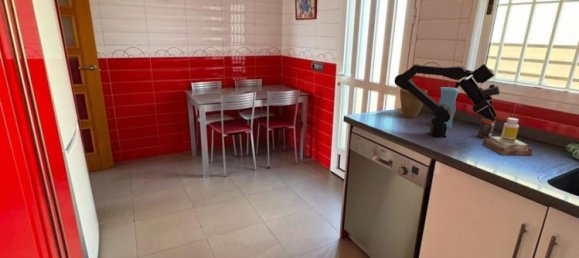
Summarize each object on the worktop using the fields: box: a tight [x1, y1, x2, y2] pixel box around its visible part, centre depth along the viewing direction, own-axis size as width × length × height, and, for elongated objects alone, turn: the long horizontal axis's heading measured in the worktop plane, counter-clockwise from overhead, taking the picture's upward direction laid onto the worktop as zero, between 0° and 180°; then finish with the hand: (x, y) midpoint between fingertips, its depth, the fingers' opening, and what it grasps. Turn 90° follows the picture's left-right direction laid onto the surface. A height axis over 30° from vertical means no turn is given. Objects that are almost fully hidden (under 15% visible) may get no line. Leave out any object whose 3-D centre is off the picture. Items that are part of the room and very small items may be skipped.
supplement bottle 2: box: [500, 117, 520, 142], centre depth 137 cm, size 5×5×10 cm
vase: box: [437, 86, 460, 129], centre depth 169 cm, size 8×8×20 cm
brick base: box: [482, 136, 533, 156], centre depth 139 cm, size 13×13×4 cm
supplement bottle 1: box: [477, 116, 496, 139], centre depth 154 cm, size 6×6×11 cm
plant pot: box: [399, 87, 428, 119], centre depth 186 cm, size 15×15×16 cm
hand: (495, 118), depth 139 cm, fingers open, 9 cm apart
